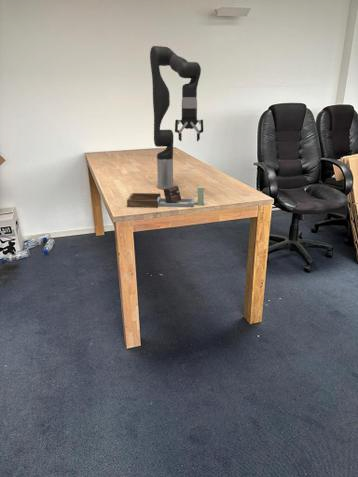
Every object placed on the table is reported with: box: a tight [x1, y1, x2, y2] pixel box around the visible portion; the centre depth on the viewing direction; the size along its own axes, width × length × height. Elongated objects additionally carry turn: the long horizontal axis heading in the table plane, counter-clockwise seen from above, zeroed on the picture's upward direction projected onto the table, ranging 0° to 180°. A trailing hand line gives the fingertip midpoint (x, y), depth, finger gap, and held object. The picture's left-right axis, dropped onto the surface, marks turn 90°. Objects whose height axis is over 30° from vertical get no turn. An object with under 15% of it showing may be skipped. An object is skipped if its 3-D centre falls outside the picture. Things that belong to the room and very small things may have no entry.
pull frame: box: [157, 185, 205, 208], centre depth 182 cm, size 9×24×9 cm, turn 86°
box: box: [162, 185, 182, 203], centre depth 183 cm, size 6×6×7 cm
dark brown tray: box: [126, 192, 162, 209], centre depth 185 cm, size 14×15×4 cm
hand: (189, 141), depth 183 cm, fingers open, 8 cm apart
